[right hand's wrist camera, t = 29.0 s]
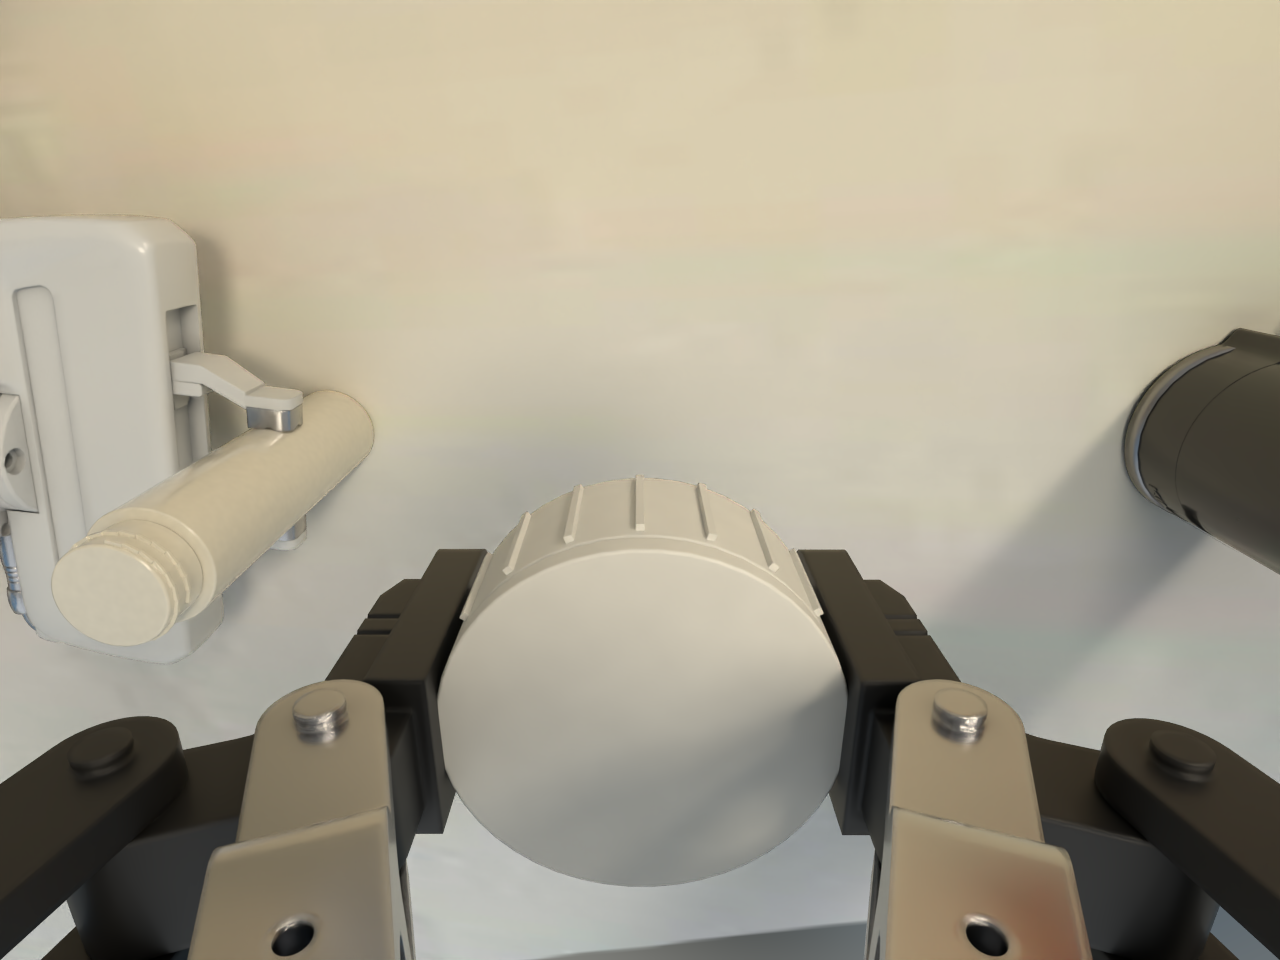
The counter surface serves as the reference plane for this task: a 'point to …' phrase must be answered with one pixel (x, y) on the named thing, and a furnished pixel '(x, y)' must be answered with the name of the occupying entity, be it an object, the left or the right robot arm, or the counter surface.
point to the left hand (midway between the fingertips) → (300, 471)
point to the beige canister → (205, 524)
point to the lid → (642, 687)
